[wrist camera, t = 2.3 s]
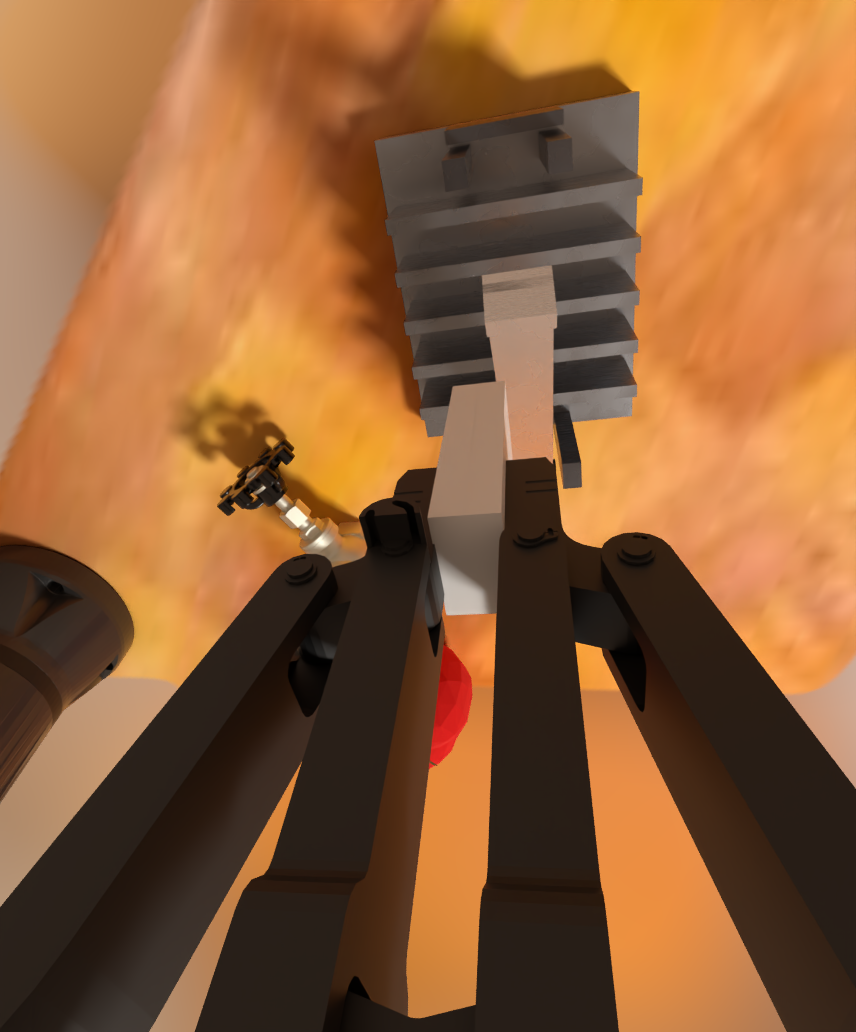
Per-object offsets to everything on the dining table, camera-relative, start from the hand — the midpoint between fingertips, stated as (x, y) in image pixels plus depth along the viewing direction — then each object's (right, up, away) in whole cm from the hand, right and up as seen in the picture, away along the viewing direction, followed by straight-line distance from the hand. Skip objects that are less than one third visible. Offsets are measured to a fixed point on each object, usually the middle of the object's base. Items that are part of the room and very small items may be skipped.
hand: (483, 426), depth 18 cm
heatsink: (+4, +11, +19) cm, 22 cm away
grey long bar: (+3, +3, +11) cm, 12 cm away
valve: (-10, -2, +29) cm, 31 cm away
